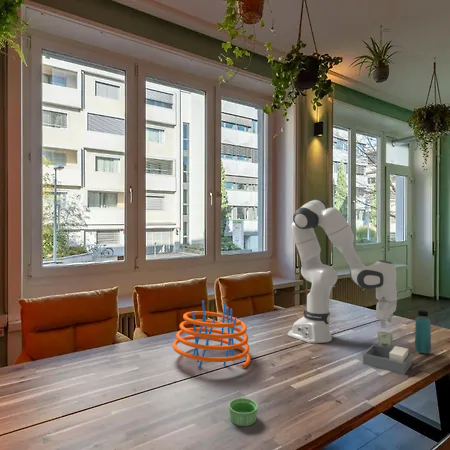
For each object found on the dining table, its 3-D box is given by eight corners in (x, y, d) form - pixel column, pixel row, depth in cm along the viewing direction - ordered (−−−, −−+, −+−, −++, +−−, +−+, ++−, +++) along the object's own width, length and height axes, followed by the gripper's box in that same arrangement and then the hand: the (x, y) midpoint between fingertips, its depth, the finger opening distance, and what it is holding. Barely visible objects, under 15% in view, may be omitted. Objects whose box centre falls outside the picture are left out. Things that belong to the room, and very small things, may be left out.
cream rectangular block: (389, 368, 143) (389, 352, 143) (395, 360, 151) (395, 345, 150) (402, 372, 140) (402, 356, 139) (408, 364, 147) (408, 348, 147)
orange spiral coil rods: (203, 341, 177) (209, 295, 178) (264, 363, 157) (270, 310, 158) (154, 357, 149) (160, 302, 149) (220, 386, 129) (228, 322, 129)
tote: (362, 365, 147) (363, 353, 147) (372, 355, 158) (373, 344, 158) (404, 376, 137) (404, 364, 137) (412, 365, 148) (412, 353, 148)
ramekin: (233, 409, 114) (233, 395, 113) (260, 413, 111) (260, 400, 111) (225, 424, 105) (225, 410, 105) (254, 430, 102) (254, 415, 102)
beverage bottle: (433, 357, 157) (434, 313, 156) (417, 355, 158) (417, 312, 158) (427, 351, 163) (428, 309, 163) (412, 350, 165) (413, 308, 164)
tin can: (375, 352, 162) (375, 334, 162) (379, 348, 167) (379, 330, 167) (390, 355, 158) (390, 337, 158) (393, 351, 163) (394, 333, 163)
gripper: (387, 300, 152) (387, 332, 152) (399, 292, 167) (399, 320, 168) (372, 298, 156) (372, 329, 156) (385, 290, 171) (385, 318, 172)
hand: (386, 324), depth 162 cm, fingers open, 8 cm apart
